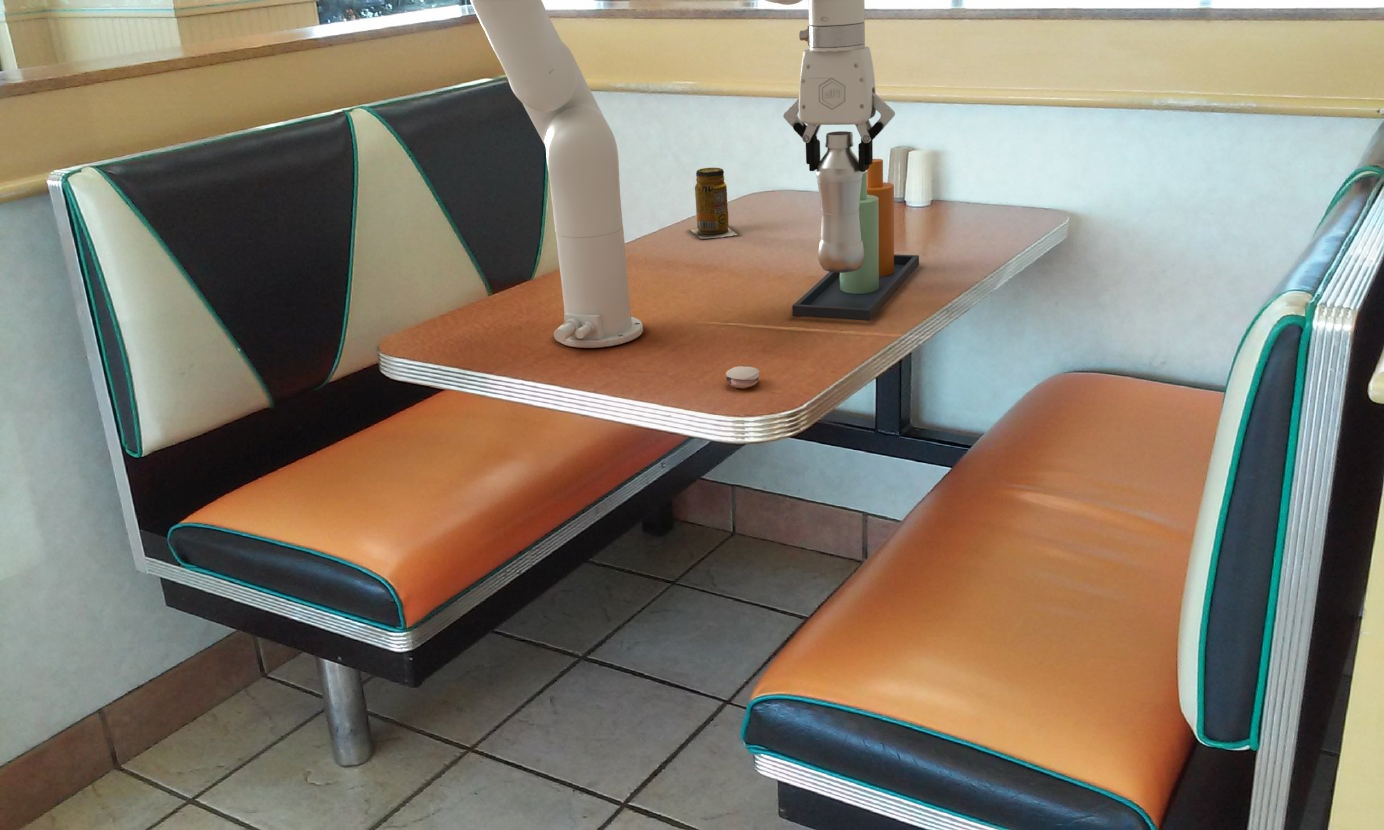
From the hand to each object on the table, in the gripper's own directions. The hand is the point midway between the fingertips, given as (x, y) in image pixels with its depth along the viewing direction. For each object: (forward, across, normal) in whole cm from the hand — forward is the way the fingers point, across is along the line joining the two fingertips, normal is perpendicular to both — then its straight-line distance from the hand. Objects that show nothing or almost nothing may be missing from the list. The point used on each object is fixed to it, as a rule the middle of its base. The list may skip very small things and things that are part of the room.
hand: (839, 168), depth 166 cm
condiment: (+21, -38, +42) cm, 61 cm away
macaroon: (+21, -3, -32) cm, 39 cm away
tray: (+21, 0, +10) cm, 23 cm away
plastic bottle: (+15, 0, 0) cm, 15 cm away
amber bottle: (+20, 0, +19) cm, 28 cm away
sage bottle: (+20, 0, +10) cm, 22 cm away
